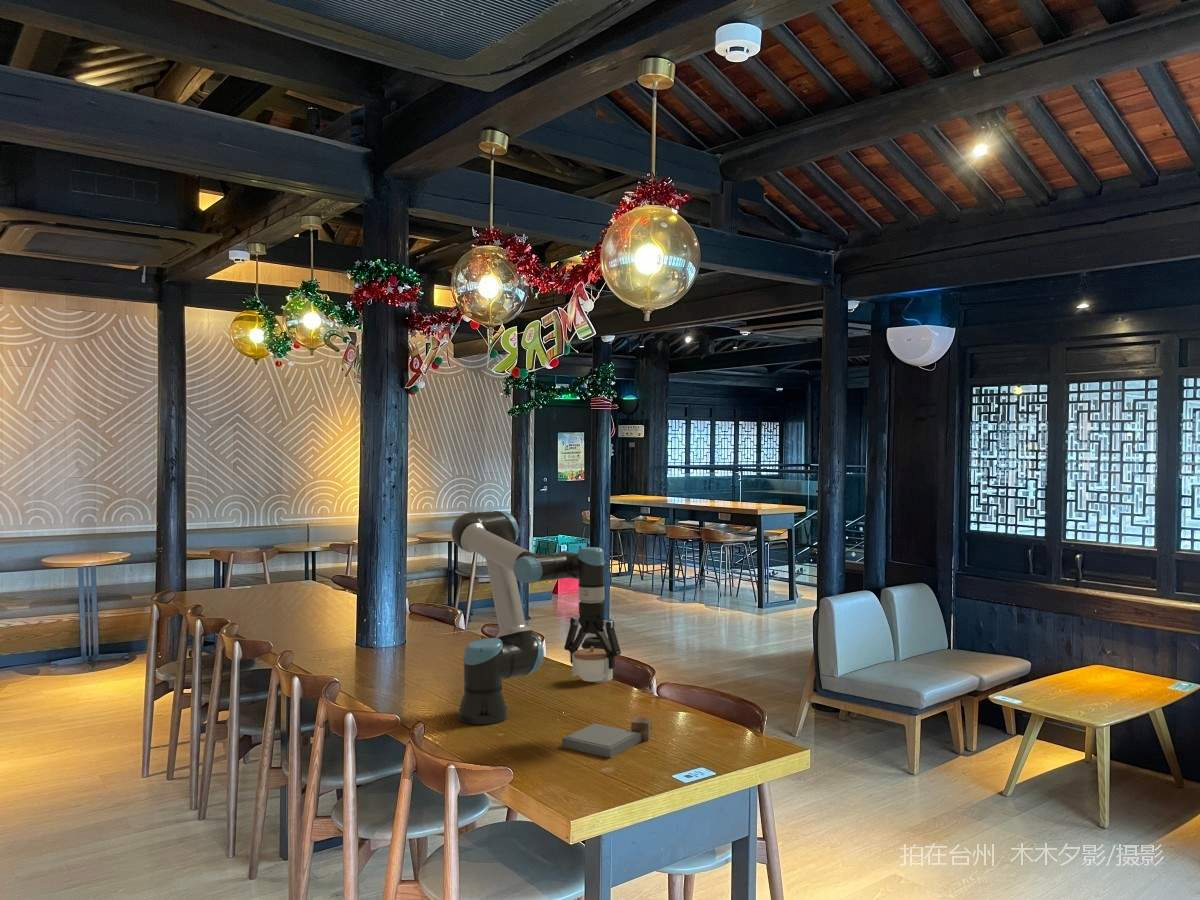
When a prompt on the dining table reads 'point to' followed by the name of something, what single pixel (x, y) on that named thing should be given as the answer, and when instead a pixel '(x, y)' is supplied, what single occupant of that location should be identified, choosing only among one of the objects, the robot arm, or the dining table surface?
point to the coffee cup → (597, 645)
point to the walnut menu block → (642, 727)
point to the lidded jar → (590, 664)
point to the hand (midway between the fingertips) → (592, 677)
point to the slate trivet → (601, 740)
